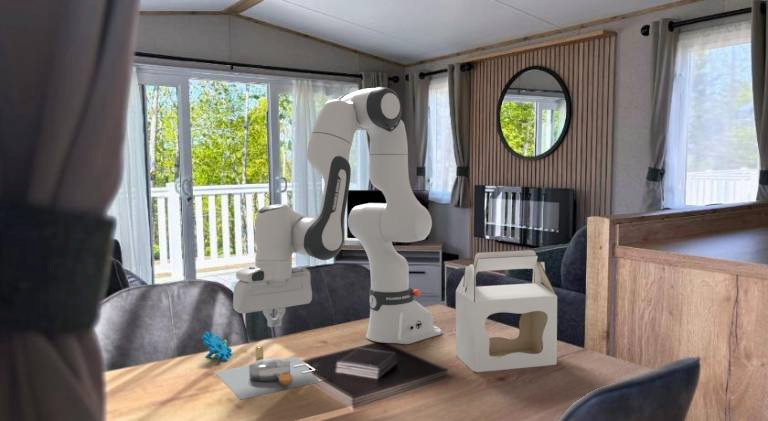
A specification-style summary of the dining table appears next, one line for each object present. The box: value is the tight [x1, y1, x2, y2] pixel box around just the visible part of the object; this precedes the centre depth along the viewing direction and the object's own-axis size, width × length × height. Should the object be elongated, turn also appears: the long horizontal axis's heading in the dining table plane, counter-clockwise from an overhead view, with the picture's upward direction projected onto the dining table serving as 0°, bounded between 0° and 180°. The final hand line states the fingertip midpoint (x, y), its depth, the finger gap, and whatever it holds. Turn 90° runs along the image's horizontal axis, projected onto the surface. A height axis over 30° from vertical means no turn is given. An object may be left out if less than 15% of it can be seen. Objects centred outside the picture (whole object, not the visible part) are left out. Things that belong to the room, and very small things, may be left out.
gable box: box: [455, 249, 558, 374], centre depth 148 cm, size 22×13×28 cm, turn 103°
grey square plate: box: [213, 356, 322, 401], centre depth 137 cm, size 21×20×1 cm
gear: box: [201, 331, 234, 362], centre depth 152 cm, size 11×6×10 cm
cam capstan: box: [249, 345, 292, 386], centre depth 136 cm, size 10×19×5 cm, turn 32°
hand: (274, 325), depth 145 cm, fingers closed
